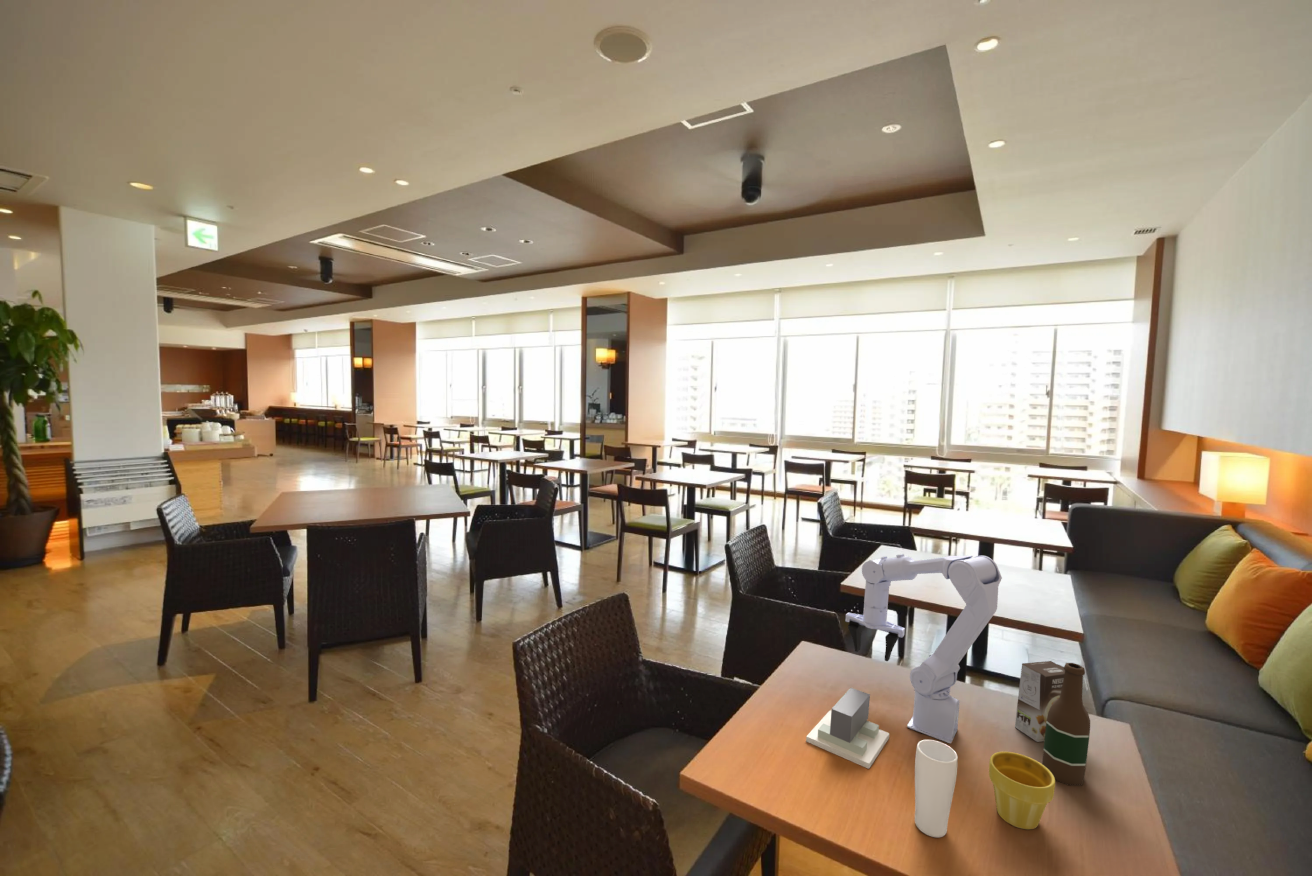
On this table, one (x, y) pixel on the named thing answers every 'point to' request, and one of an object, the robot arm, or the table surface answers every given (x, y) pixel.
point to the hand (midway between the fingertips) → (872, 655)
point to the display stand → (858, 749)
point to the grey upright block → (849, 714)
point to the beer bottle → (1068, 730)
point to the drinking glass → (934, 786)
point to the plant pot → (1020, 788)
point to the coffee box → (1037, 696)
